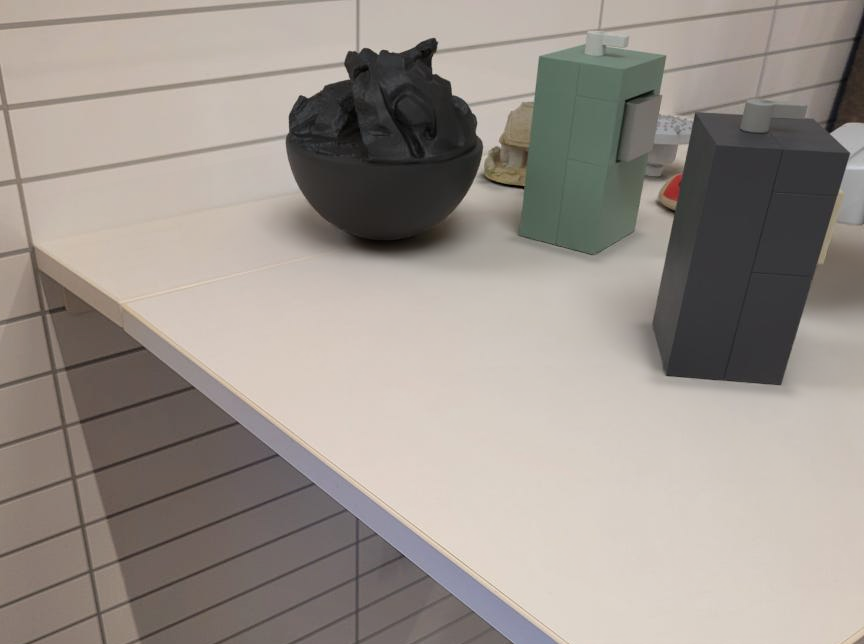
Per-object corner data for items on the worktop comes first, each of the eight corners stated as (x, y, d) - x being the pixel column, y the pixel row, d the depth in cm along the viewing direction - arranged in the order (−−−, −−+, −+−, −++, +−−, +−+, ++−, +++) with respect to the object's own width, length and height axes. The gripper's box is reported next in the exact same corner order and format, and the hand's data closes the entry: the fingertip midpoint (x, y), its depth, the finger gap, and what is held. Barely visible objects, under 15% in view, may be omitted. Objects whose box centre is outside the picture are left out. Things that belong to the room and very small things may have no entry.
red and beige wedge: (680, 194, 116) (686, 165, 114) (746, 217, 109) (754, 186, 107) (642, 203, 112) (648, 173, 110) (709, 227, 106) (716, 196, 104)
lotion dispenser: (755, 331, 83) (821, 91, 72) (781, 385, 75) (859, 122, 63) (651, 324, 84) (700, 84, 72) (666, 375, 75) (723, 114, 64)
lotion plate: (803, 237, 76) (823, 169, 73) (823, 264, 71) (844, 193, 68) (786, 236, 76) (804, 168, 73) (804, 263, 71) (824, 191, 68)
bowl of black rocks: (328, 281, 90) (328, 69, 79) (263, 216, 105) (255, 31, 94) (510, 255, 97) (531, 58, 86) (424, 198, 112) (433, 24, 101)
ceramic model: (596, 173, 122) (609, 92, 117) (593, 199, 113) (606, 112, 108) (489, 163, 125) (496, 83, 119) (477, 188, 116) (484, 102, 110)
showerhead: (645, 127, 114) (614, 107, 122) (634, 187, 118) (605, 164, 126) (717, 126, 115) (682, 107, 123) (704, 185, 119) (671, 163, 127)
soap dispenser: (634, 230, 104) (670, 33, 93) (594, 255, 97) (627, 45, 86) (562, 213, 109) (588, 22, 97) (518, 235, 102) (541, 33, 91)
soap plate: (652, 150, 97) (662, 94, 94) (627, 162, 93) (637, 104, 90) (640, 147, 98) (649, 92, 95) (614, 159, 94) (623, 102, 91)
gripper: (956, 120, 86) (804, 96, 93) (904, 166, 73) (730, 135, 80) (932, 189, 90) (787, 161, 97) (878, 245, 76) (713, 208, 83)
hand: (760, 149), depth 88 cm, fingers closed
